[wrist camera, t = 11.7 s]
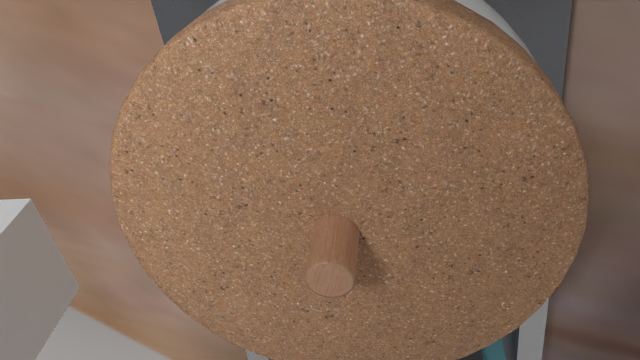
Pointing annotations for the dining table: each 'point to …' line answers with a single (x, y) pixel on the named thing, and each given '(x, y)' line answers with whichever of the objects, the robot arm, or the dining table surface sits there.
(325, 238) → the lidded jar
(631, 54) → the dining table surface
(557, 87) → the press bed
